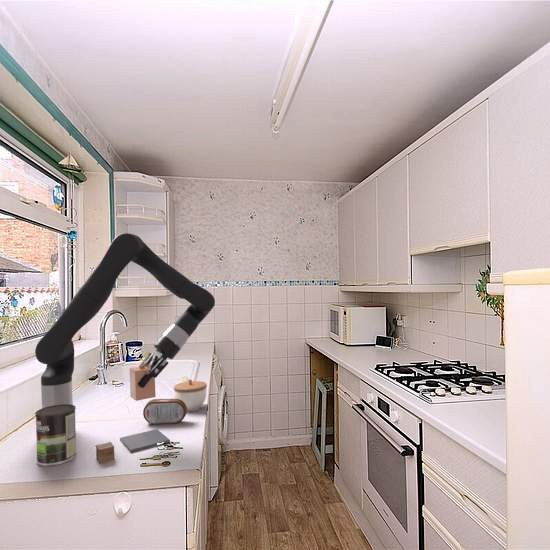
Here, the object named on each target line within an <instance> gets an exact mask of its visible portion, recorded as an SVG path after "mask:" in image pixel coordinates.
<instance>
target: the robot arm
mask: <svg viewBox="0 0 550 550" xmlns="http://www.w3.org/2000/svg"><path fill="white" fill-rule="evenodd" d="M130 262H132V263H134V264H136V265H138V266H140V267H141V268H142V269H144V270H146V271H147V272H148V273H150V275H151V276H153V277H154V278H155V279H156V280H157V282H159V284H161V285H162V286H163V287H164V288H166V289H167V290H168V291H169V292H170V293H172V294H173V295H174V296H176V297H177V298H178V299H180V300H181V299H182V300H185V301H187V302H188V303H189V306H188V307H187V308H186V309H185V310H184V312H182V313H181V314H180V315H179V316H178V317H177V318H176V320H175V321H174V322H173V323H172V324H171V326H169V327H168V328H167V329H166V330H165V331H164V333H163V334H162V335H161V336H160V338H158V340H156V342H155V343H154V346H153V347H154V348H155V349H156V350H155V351H154V352H153V353H152V352H149V353H147V355H146V356H145V357H144V359H143V360H142V362H141V363H140V364H139V365H141V364H144V366H148V368H149V370H148V371H147V372H146V374H147V375H146V374H145V375H144V376H143V377H142V379H141V380H140V381H139V382H138V385H139V386H140V387H141V388H144V387H145V385H146V384H147V383H148V382H149V380H150V379H151V378H153V377H154V378H155V379H156V378H157V377H158V376H159V375H160V374H161V373H162V371H163V370H164V369H165V368H166V367H167V366H168V365H169V362H168V361H167V359H168V360H174V358H175V357H176V356H177V354H178V353H179V352H180V351H181V349H182V348H183V346H184V345H185V344H186V343H187V341H188V340H189V338H190V337H191V335H192V334H193V333H194V332H196V329H197V328H198V327H199V324H201V323H202V321H204V319H205V318H206V317H207V316H208V315H209V313H210V312H211V311H212V310H213V309H214V307H215V305H216V300H215V297H214V295H213V294H212V293H211V292H210V291H208V290H207V289H206V288H204V287H202V286H200V285H198V284H197V283H194V282H192V281H191V280H190V279H189V278H188V277H186V276H185V275H184V274H182V273H181V272H180V271H178V270H177V269H176V268H174V267H173V266H171V265H170V264H168V263H167V262H165V261H164V260H163V259H162V258H161V257H159V256H158V255H157V254H156V253H155V252H154V251H153V250H152V249H151V248H150V247H149V246H148V245H147V244H146V243H145V242H144V241H143V240H142V238H141V237H140V236H138V235H137V234H134V233H129V232H123V233H120V234H118V235H116V236H115V237H114V239H112V241H111V243H110V245H109V247H108V248H107V250H106V252H105V253H104V255H103V257H102V259H101V261H100V262H99V263H98V265H97V266H96V267H95V268H94V270H93V271H91V273H90V275H89V276H88V277H87V279H86V280H85V281H84V283H83V284H81V286H80V288H78V291H76V293H75V295H74V296H73V297H72V299H71V301H70V302H68V304H67V306H66V308H64V311H63V312H62V313H61V315H60V316H59V318H58V319H57V321H55V323H54V324H53V325H52V327H51V328H50V329H49V330H48V331H47V332H46V333H45V334H44V335H43V336H42V338H40V340H39V341H38V342H37V344H36V346H35V350H34V352H35V354H34V355H35V358H36V359H37V361H38V362H39V363H41V364H43V365H46V368H45V370H44V372H43V373H42V375H41V377H40V385H41V386H40V388H41V389H40V392H41V409H42V408H45V407H49V406H53V405H61V404H70V405H74V401H73V373H74V371H75V370H74V369H75V344H74V342H73V340H72V339H73V338H74V337H75V335H76V334H77V333H78V332H79V331H80V330H81V329H82V328H83V327H85V325H87V324H88V323H89V322H90V321H91V320H92V319H93V318H94V317H95V316H96V315H97V314H98V313H99V312H100V311H101V309H102V308H103V306H104V305H105V304H106V302H107V301H108V299H109V297H110V296H111V294H112V292H113V290H114V287H115V284H116V282H117V279H118V278H119V276H120V275H121V273H122V272H123V270H124V269H126V267H127V266H128V265H129V263H130ZM151 369H152V370H151Z"/></svg>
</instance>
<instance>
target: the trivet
mask: <svg viewBox="0 0 550 550" xmlns="http://www.w3.org/2000/svg"><path fill="white" fill-rule="evenodd" d="M119 441H120V442H121V443H122V445H123V446H124V447H125V448H126V449H127V450H128V452H129V453H130V454H131V453H135V452H139V451H142V450H146V449H150V448H153V447H157V446H156V445H157V443H162V442H170V443H171V439H170V438H169V437H167V436H166V435H165V434H163V432H162V431H160V430H159V429H158V428H155V429H151V430H147V431H143V432H139V433H134V434H131V435H130V434H129V435H127V436H122V437H119Z"/></svg>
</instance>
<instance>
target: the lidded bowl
mask: <svg viewBox="0 0 550 550" xmlns="http://www.w3.org/2000/svg"><path fill="white" fill-rule="evenodd" d="M207 387H208V386H207V383H206V382H205V381H200V380H192V379H189V380H188V381H183V382H180V383H177V384H175V385H174V386H173V390H174V393H173V394H174V399H180V400H182V401H183V402H184V403H185V404H186V407H187V412H195V411H197V410H199V409H200V408H202V406H203V404H204V403H205V401H206V398H207Z"/></svg>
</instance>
